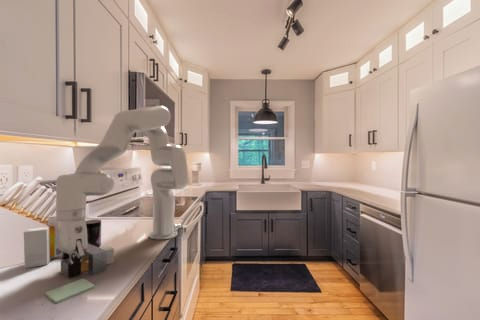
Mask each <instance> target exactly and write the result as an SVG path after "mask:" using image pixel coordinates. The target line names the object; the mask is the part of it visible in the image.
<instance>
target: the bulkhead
mask: <svg viewBox="0 0 480 320" xmlns="http://www.w3.org/2000/svg"><path fill="white" fill-rule="evenodd" d="M101 248H102V247H96V246H94V245H91V244H89V243H88V249H87V250H86V251H84V256H83V257H82V261H81V262H84V261H87V260H88V270H87V273H88V274H89V275H91V276H96V275H98V274H101V273H104V272H106V271H107V264H106V250H104V249H101ZM73 252H77V251H76V250H75V251H73ZM75 256H77V254H76V255H73V257H75Z"/></svg>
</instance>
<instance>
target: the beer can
mask: <svg viewBox="0 0 480 320" xmlns="http://www.w3.org/2000/svg"><path fill="white" fill-rule="evenodd" d="M51 215H53V216H51ZM47 227H49V233H50V259H52V260H53V259H61V253H60V252H61V250H59V249H58V247H57V230H58V222H57V221H56V215H54V214H50V215H49V217H48V218H47Z"/></svg>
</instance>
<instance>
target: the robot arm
mask: <svg viewBox="0 0 480 320" xmlns="http://www.w3.org/2000/svg"><path fill="white" fill-rule="evenodd" d="M171 117H172V115H171V112H170V110H169V109H168V108H167V107H165V106H164V105H155V106H153V105H152V106H142V107H139V108H135V109H127V110H121V111H119V112H118V113H116V114H115V115H114V117H113V119H112V120H111V123H110V124H109V126H108V129H107V131H106V132H105V134H104V136H103V138H102V140H101V141H100V143H99V144H98V145H96V146H95V147H94V148H93V149H92V150H91V151H90V152H89V153H88V154H86V155H85V156H84V157H83V158H82V159H81V161H80V162H79V164H78V166H77V167H76V170H75V171H74V173H73V174H60V175H59V176H58V177H56V183H55V185H56V187H55V189H56V191H55V197H56V198H55V202H56V203H55V214H56V221H57V222H58V230H57V247H58V249H59V250H61V252H60V253H61V257H60V267H61V266H62V260H64V259H68V258H69V259H70V264H69V265H68V277H69V278H68V279H72V278H75V277H77V276H79V275H81V274H82V272H81V261H82V257H83V256H84V251H86V250H87V249H88V241H87V226H86V221H87V220H86V218H87V216H86V215H87V197H88V196H91V197H92V196H104V195H107V194H109V193H110V192H111V191H112V190H113V189H114V187H115V181H114V179H113V177H112V176H111V175H110V174H107V173H102V172H100V170H101V169H102V168H103V167H104V166H105V165H107V163H109V162H111V161H113V160H115V159H117V158H119V157H121V156H122V155H124V154H125V153H126V151H127V149H128V148H129V144H130V142H131V140H132V139H133V136H134V135H135V133H144V132H145V134H146V135H147V137H148V142H149V151H150V158H151V161H152V164H154V165H156V166H159V168H157V169H155V170H154V171H152V173H151V174H150V183H151V188H152V231H151V232H150V233H149V234H148V237H149V238H150V239H151V240H159V241H160V240H161V241H162V240H168V239H172V238H175V237H177V235H178V231H177V229H180V228H182V224H181V223H177V224H176V223H175V195H174V192H173V190H184V189H185V188H186V187H187V185H188V183H189V173H188V172H189V171H188V165H187V164H188V163H187V155H186V152H185V150H184V148H183V146H181V145H179V144H178V145H177V144H170V140H169V139H170V138H169V135H168V132H167V129H166V128H165V127H166V126H167V125H169V123H170V122H171ZM75 250H76V251H77V252H74V251H75ZM76 254H77V256H75V257H74V255H76ZM73 257H74V258H73Z"/></svg>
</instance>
